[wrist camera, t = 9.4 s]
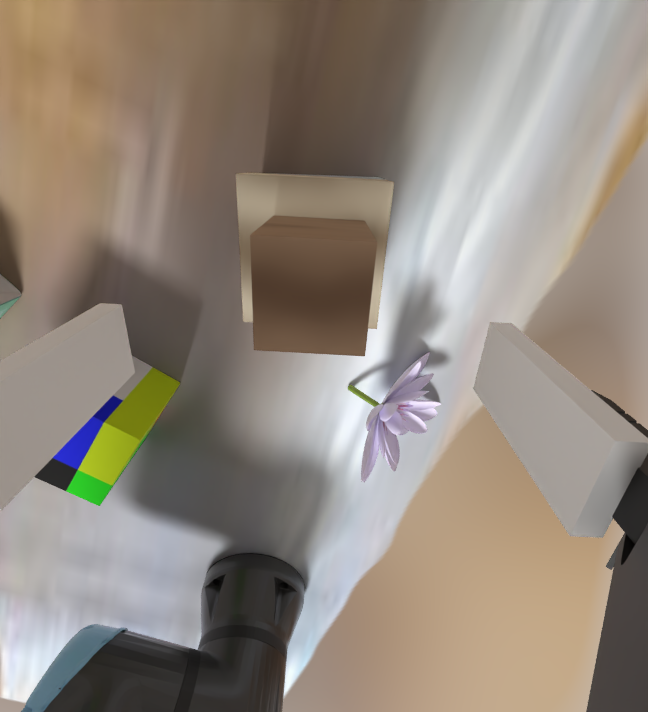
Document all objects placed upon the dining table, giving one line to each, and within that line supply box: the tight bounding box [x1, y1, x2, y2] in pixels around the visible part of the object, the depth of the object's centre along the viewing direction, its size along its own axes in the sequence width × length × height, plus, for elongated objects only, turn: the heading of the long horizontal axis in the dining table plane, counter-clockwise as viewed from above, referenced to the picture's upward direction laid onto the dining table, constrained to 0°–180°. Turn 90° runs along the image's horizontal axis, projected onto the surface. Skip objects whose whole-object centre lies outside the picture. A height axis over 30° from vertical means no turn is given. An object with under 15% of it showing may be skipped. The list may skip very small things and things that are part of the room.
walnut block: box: [250, 215, 377, 356], centre depth 23 cm, size 6×6×8 cm
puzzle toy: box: [34, 356, 180, 506], centre depth 39 cm, size 10×10×10 cm
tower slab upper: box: [236, 173, 394, 329], centre depth 28 cm, size 10×10×5 cm
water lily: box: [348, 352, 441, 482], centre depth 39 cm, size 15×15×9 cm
